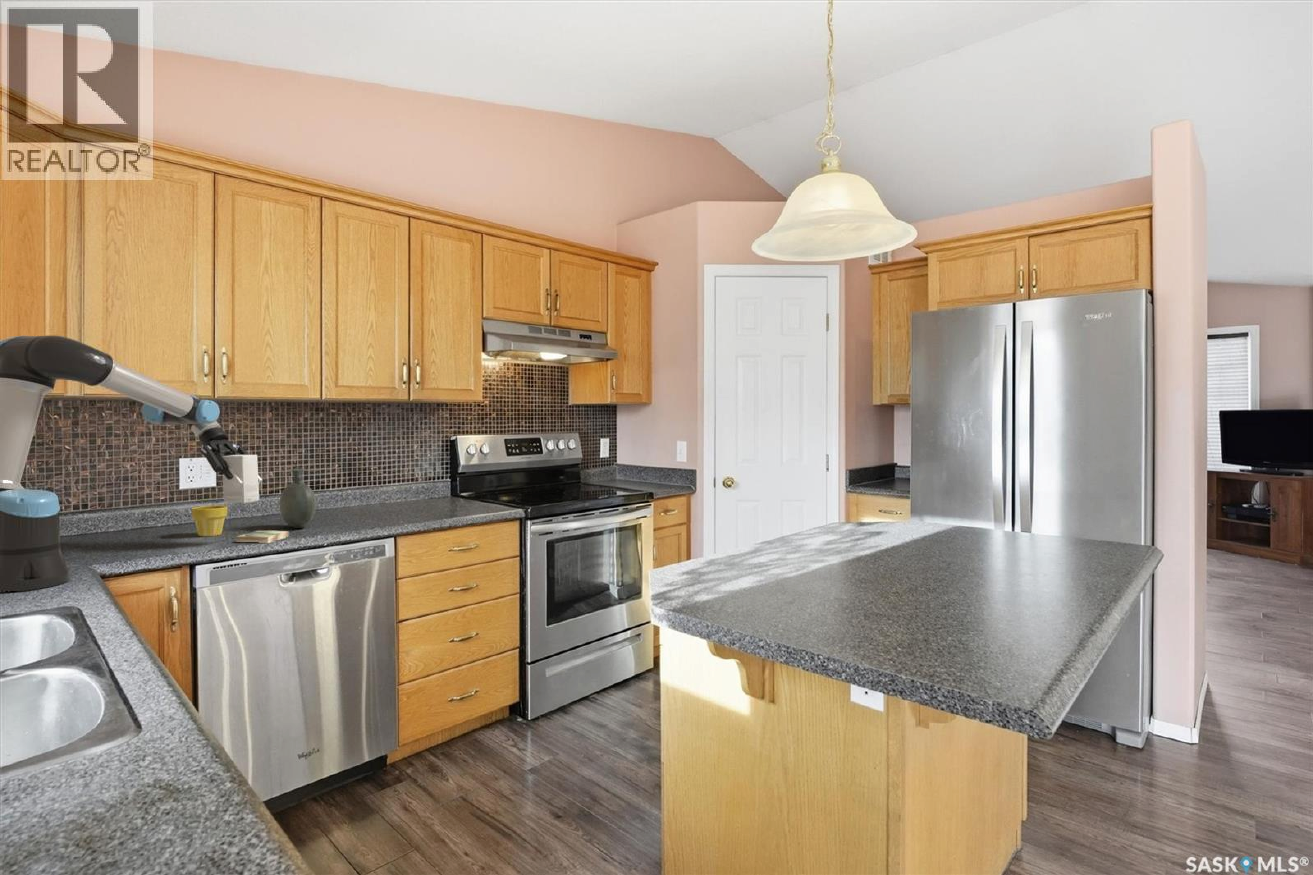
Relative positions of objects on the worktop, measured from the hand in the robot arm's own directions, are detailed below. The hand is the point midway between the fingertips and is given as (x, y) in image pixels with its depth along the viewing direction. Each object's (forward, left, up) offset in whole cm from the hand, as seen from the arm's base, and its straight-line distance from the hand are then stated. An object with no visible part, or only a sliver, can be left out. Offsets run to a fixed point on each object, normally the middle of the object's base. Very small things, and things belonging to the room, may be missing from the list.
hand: (249, 484), depth 215 cm
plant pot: (+12, +23, -20) cm, 33 cm away
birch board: (+5, -1, -19) cm, 20 cm away
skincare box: (+1, +3, -6) cm, 7 cm away
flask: (+28, +1, -20) cm, 34 cm away
